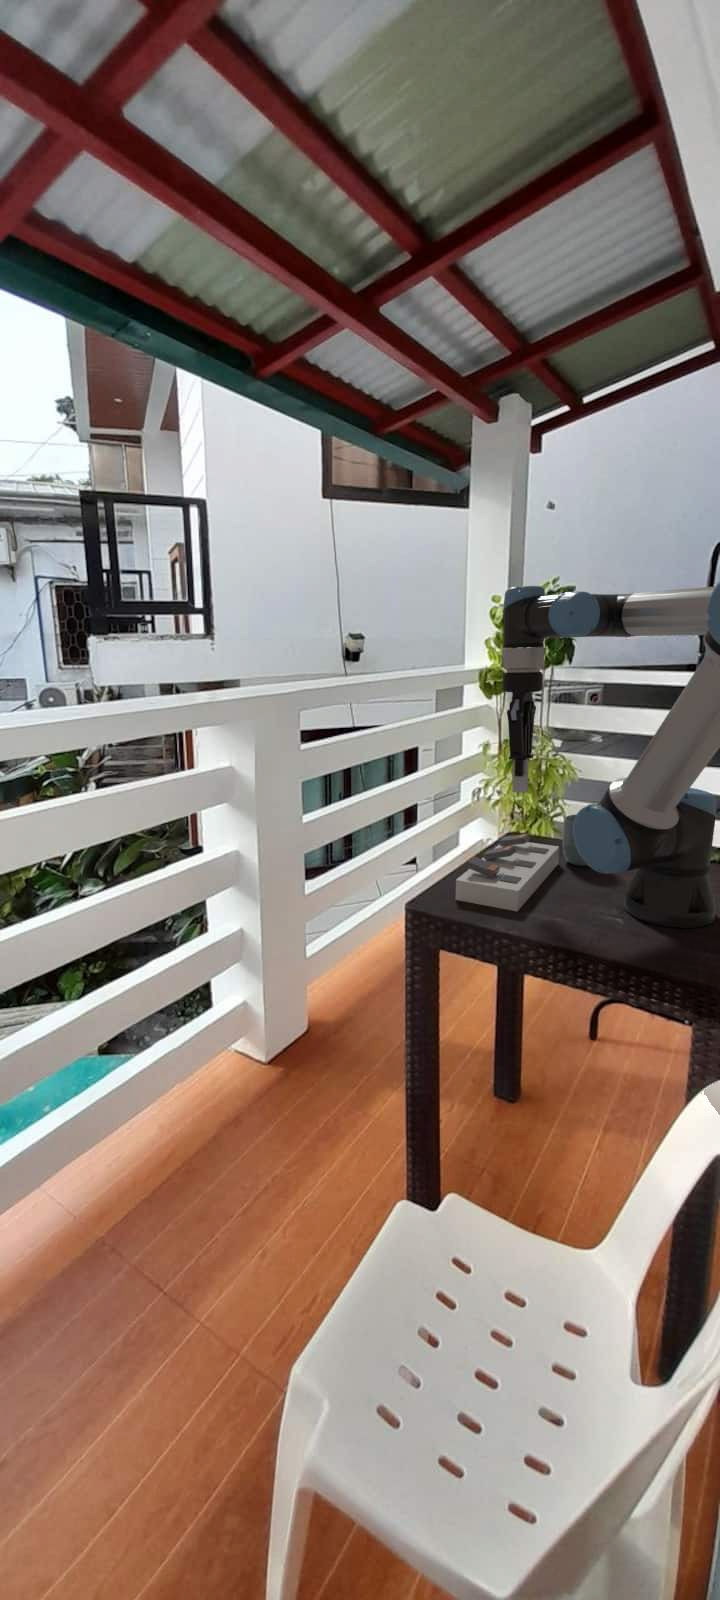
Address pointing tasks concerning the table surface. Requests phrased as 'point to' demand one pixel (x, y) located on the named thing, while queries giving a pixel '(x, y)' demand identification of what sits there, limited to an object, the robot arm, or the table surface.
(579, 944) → the table surface
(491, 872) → the rocker
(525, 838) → the rocker
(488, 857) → the rocker
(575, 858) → the cup
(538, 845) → the power strip
